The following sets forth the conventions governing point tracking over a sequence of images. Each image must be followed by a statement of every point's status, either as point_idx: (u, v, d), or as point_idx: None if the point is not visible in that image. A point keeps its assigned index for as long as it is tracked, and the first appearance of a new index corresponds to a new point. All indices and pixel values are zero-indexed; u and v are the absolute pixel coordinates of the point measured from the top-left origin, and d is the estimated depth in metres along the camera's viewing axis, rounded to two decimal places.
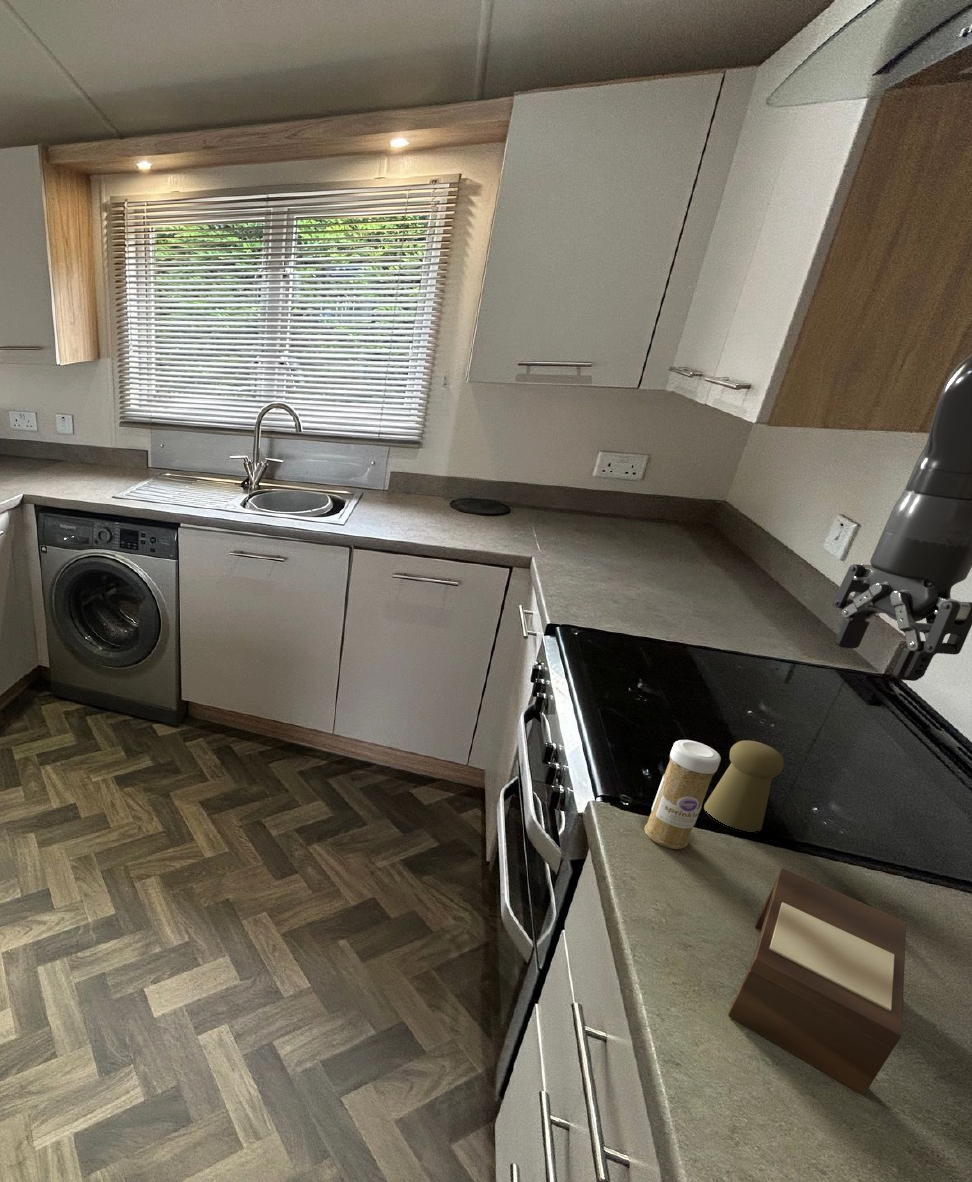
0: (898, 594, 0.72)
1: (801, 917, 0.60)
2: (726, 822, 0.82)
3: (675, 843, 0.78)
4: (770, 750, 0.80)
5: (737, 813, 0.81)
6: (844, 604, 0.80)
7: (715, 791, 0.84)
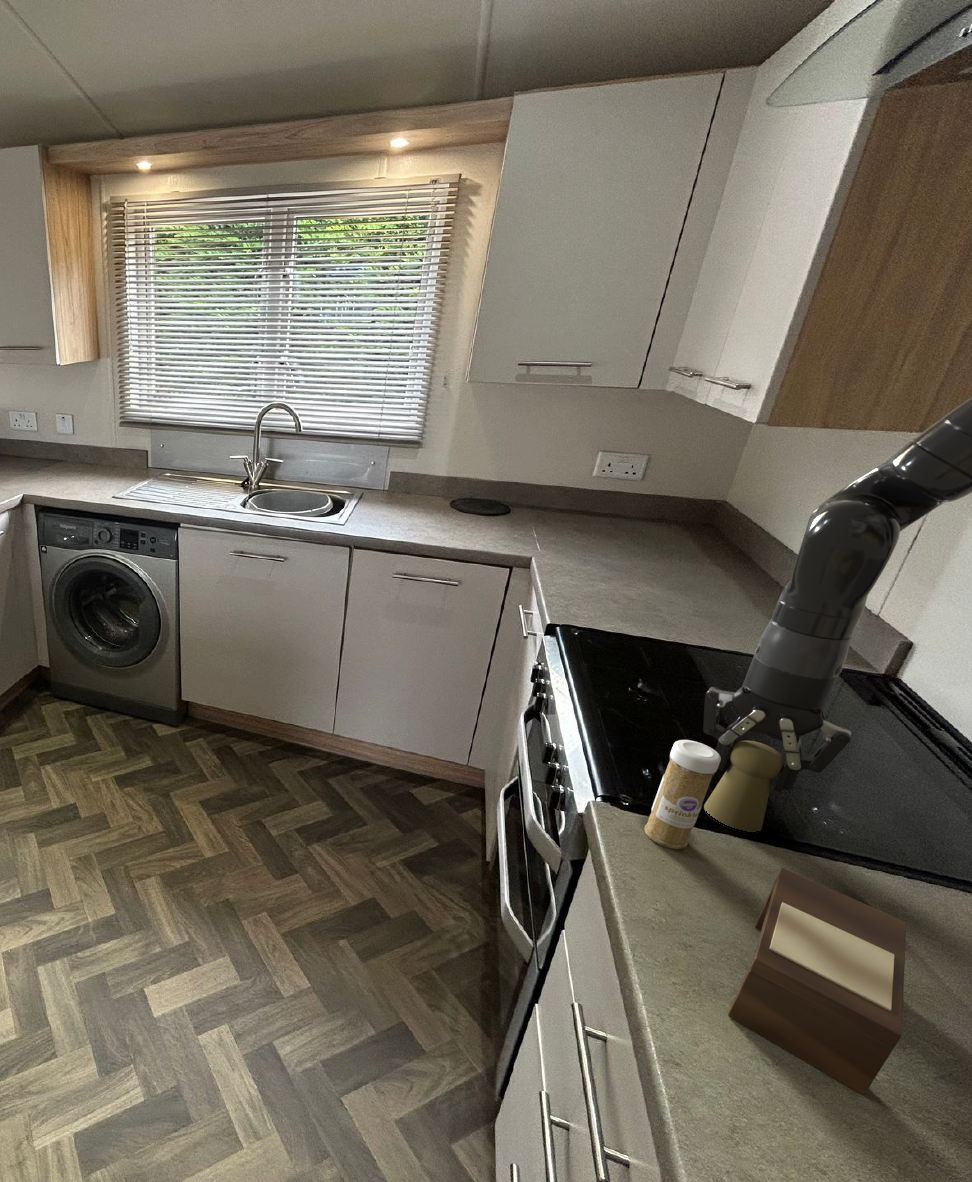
0: (790, 722, 0.76)
1: (801, 917, 0.60)
2: (726, 822, 0.82)
3: (675, 843, 0.78)
4: (770, 750, 0.80)
5: (737, 813, 0.81)
6: (715, 731, 0.83)
7: (715, 791, 0.84)
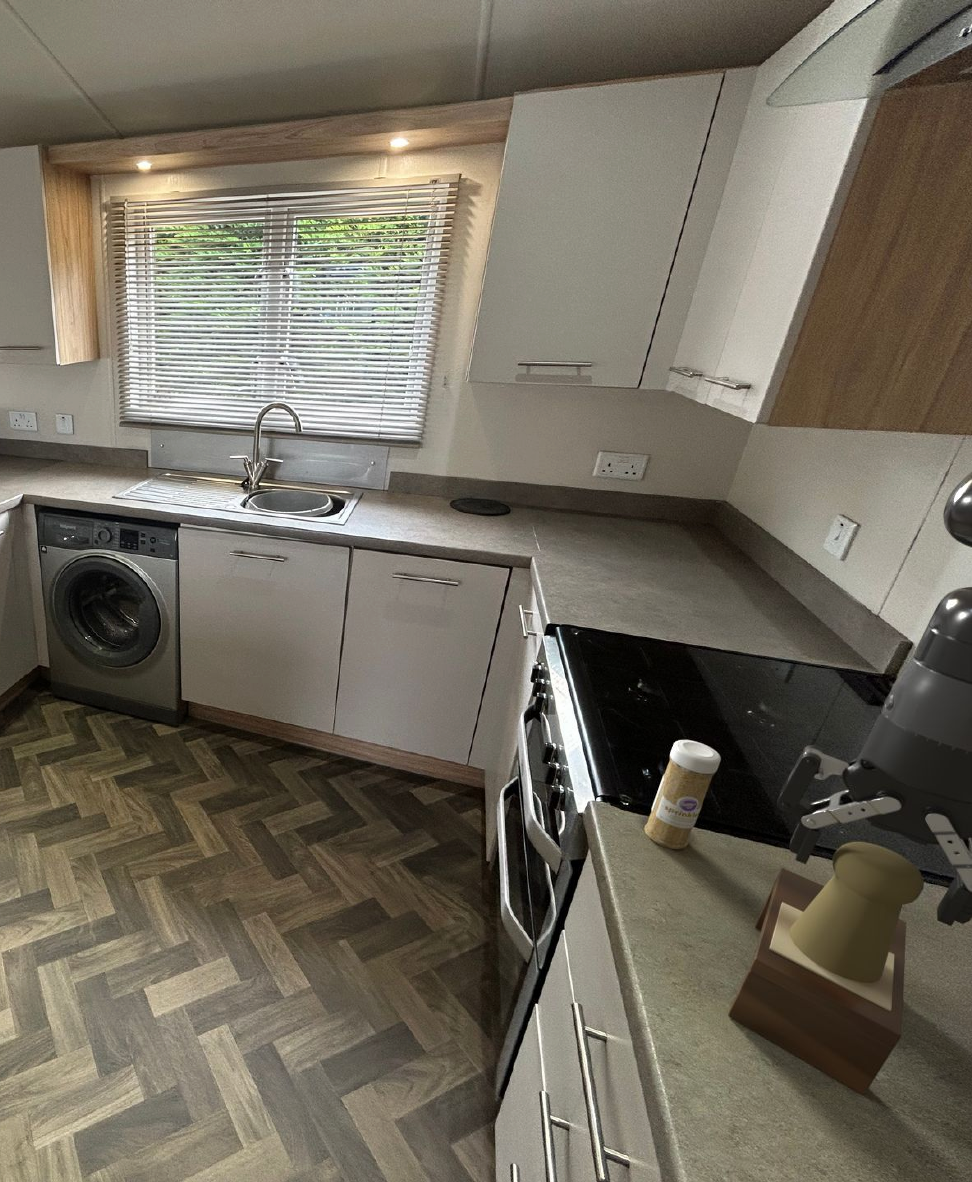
0: (944, 819, 0.48)
1: None
2: (829, 965, 0.55)
3: (675, 843, 0.78)
4: (900, 861, 0.52)
5: (846, 952, 0.54)
6: (796, 806, 0.56)
7: (809, 914, 0.57)
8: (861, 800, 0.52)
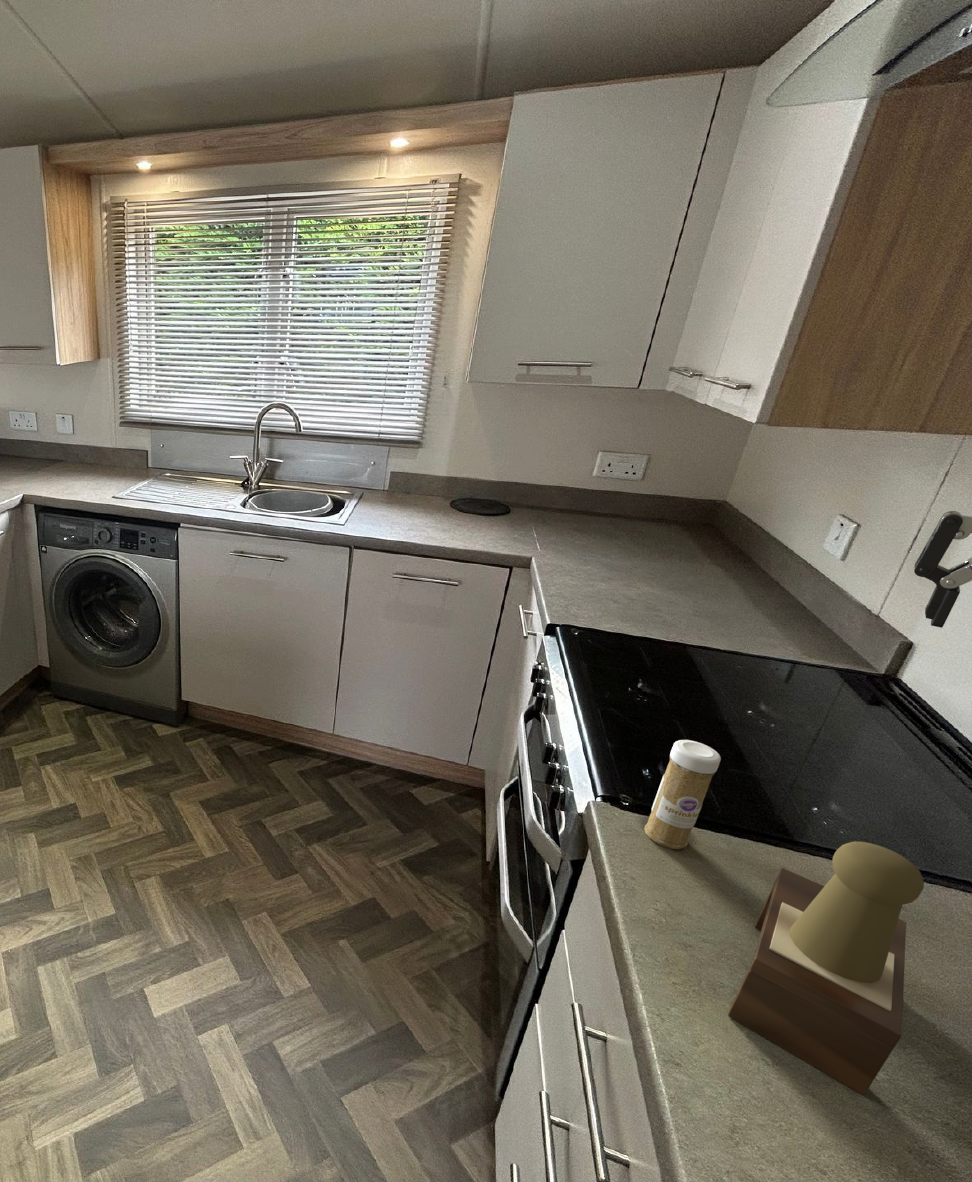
0: None
1: None
2: (829, 965, 0.55)
3: (675, 843, 0.78)
4: (900, 861, 0.52)
5: (846, 952, 0.54)
6: (934, 570, 0.58)
7: (809, 913, 0.57)
8: None
